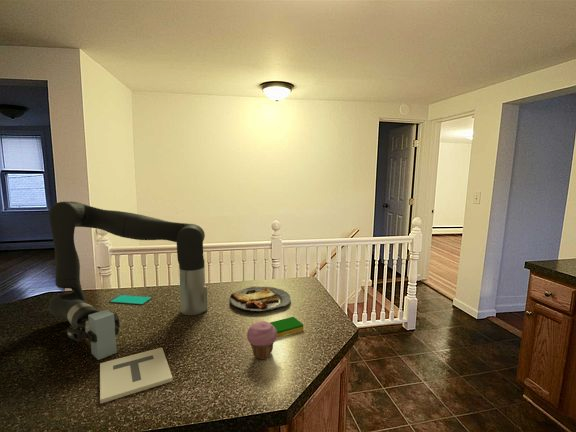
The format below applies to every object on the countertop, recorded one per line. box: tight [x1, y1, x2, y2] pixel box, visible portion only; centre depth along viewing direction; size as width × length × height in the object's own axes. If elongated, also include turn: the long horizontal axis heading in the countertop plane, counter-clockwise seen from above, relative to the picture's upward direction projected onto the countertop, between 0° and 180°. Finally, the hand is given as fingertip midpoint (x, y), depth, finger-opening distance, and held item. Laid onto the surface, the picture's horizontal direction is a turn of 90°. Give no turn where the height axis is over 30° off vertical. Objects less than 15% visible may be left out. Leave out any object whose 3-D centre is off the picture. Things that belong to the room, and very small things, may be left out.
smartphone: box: [108, 294, 153, 306], centre depth 130 cm, size 7×1×15 cm
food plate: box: [228, 286, 291, 312], centre depth 130 cm, size 25×23×4 cm
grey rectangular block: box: [88, 309, 118, 361], centre depth 92 cm, size 5×5×12 cm
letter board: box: [99, 347, 174, 404], centre depth 84 cm, size 16×16×1 cm
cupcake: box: [246, 320, 277, 360], centre depth 92 cm, size 9×9×10 cm
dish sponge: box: [269, 316, 304, 339], centre depth 107 cm, size 7×14×2 cm, turn 119°
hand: (106, 335), depth 90 cm, fingers closed on grey rectangular block, 5 cm apart
